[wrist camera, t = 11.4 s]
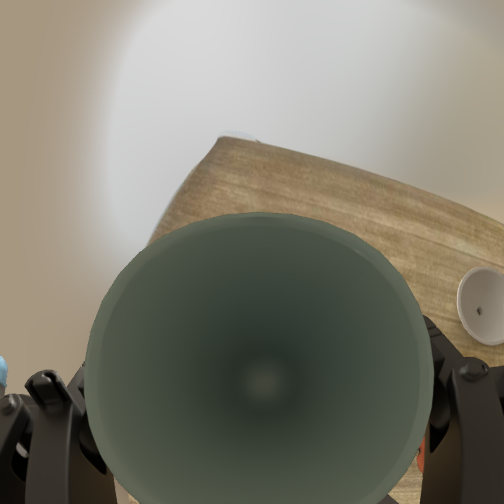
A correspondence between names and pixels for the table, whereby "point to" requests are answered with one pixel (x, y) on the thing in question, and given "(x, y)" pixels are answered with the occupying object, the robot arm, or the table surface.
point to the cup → (259, 367)
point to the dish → (482, 305)
